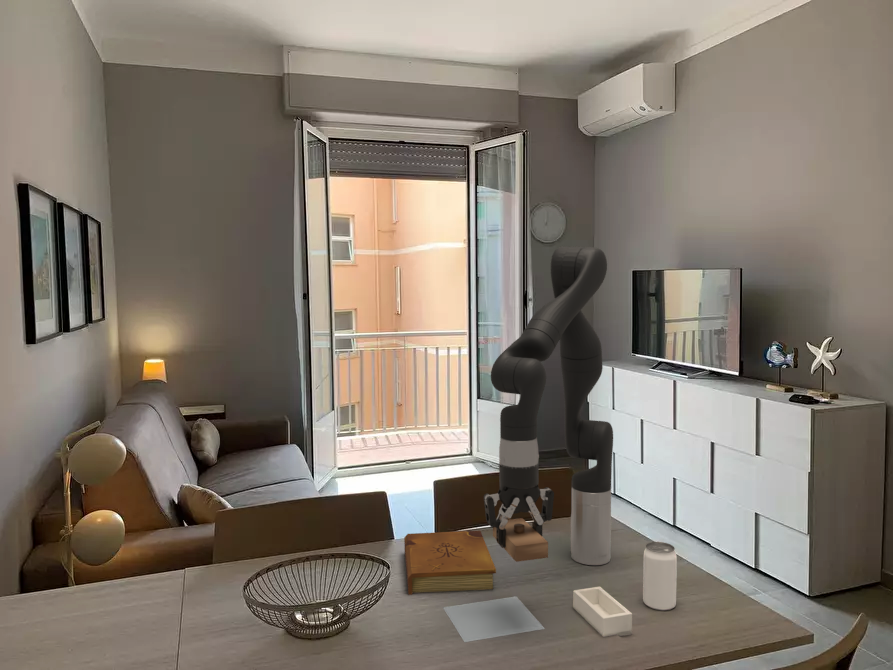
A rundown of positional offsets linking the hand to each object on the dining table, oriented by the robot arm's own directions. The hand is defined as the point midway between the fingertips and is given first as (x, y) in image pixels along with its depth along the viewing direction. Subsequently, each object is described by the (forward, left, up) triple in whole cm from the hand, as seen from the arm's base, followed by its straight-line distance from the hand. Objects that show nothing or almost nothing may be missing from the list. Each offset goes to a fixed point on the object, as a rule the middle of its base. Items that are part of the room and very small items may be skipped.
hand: (519, 543), depth 132 cm
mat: (-1, -5, -15) cm, 16 cm away
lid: (0, 0, 0) cm, 0 cm away
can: (+3, +30, -15) cm, 34 cm away
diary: (-25, -7, -16) cm, 31 cm away
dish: (+6, +15, -15) cm, 22 cm away
